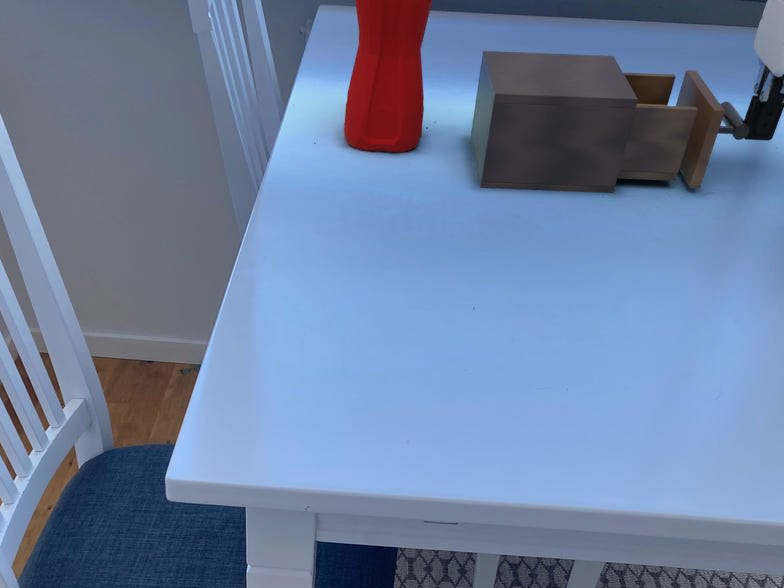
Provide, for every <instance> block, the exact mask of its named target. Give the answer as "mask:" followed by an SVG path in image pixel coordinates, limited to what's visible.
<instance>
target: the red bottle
mask: <svg viewBox="0 0 784 588" xmlns="http://www.w3.org/2000/svg"><path fill="white" fill-rule="evenodd" d="M433 1H434V0H354V2H355V3H354V4H355V10H356V18H357V26H358V46H357V50H356V54H355V58H354V63H353V68H352V72H351V76H350V81H349V85H348V89H347V94H346V103H345V110H344V111H345V112H344V123H343V135H344V139H345V140H346V142H347V144H348V145H349V146H351V147H353V148H355V149H357V150H358V151H366V152H383V153H397V154H398V153H399V154H400V153H405V152H408V151H411V150H413V149H415V148H416V147H417V146H418V144H419V143H420V141H421V139H422V133H423V121H424V111H425V107H424V99H425V97H424V96H425V95H424V81H423V80H424V79H423V63H422V45H423V41H424V36H425V33H426V30H427V25H428V20H429V17H430V13H431V8H432V5H433V4H432V3H433Z"/></svg>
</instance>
